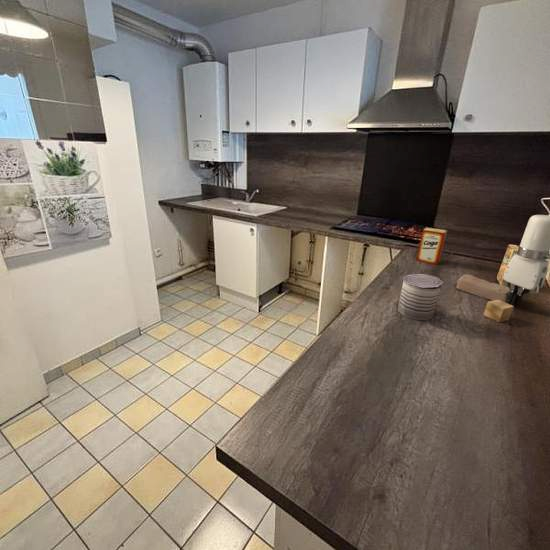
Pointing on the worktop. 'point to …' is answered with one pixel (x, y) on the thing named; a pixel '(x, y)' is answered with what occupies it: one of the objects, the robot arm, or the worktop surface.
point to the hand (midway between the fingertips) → (513, 303)
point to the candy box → (506, 262)
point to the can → (419, 296)
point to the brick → (483, 288)
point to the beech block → (498, 310)
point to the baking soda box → (431, 245)
